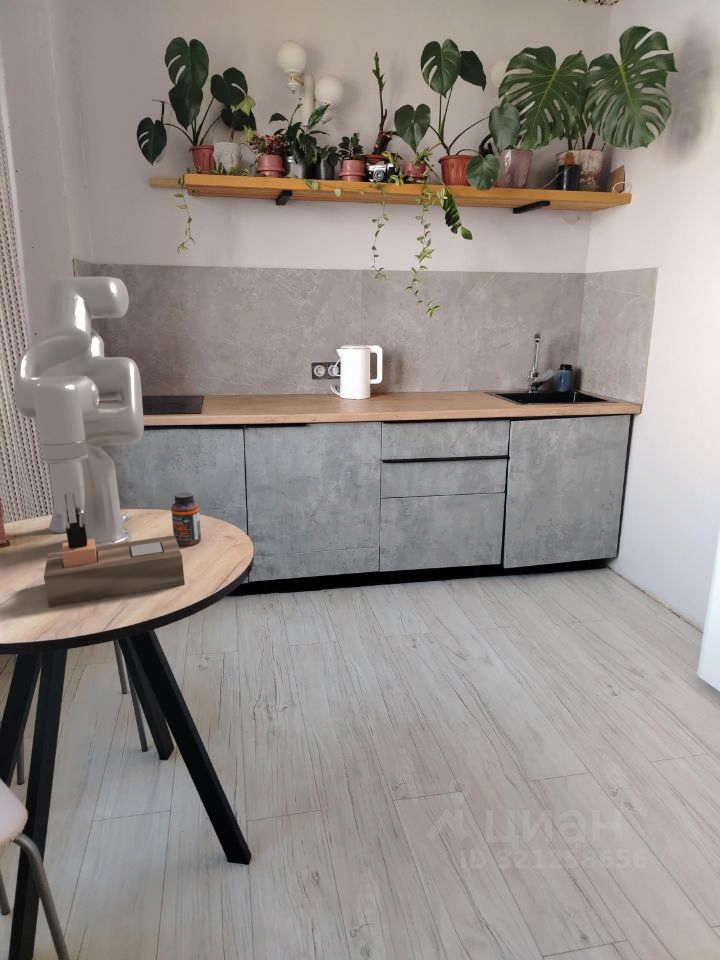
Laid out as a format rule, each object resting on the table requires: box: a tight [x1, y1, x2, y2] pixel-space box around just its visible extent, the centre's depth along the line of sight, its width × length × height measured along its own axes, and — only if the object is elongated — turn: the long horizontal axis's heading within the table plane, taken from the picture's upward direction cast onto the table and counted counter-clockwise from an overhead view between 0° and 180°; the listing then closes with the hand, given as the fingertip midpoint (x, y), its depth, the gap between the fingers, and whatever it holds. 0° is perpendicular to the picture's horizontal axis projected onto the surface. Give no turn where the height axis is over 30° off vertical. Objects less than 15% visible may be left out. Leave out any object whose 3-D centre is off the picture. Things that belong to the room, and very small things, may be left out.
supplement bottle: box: [170, 491, 202, 547], centre depth 149 cm, size 6×6×11 cm
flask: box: [48, 506, 67, 534], centre depth 160 cm, size 7×7×10 cm
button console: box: [43, 534, 186, 608], centre depth 129 cm, size 12×24×6 cm, turn 111°
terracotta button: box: [61, 539, 98, 568], centre depth 126 cm, size 6×6×5 cm
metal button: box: [131, 542, 163, 557], centre depth 131 cm, size 6×6×5 cm
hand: (78, 545), depth 126 cm, fingers closed
